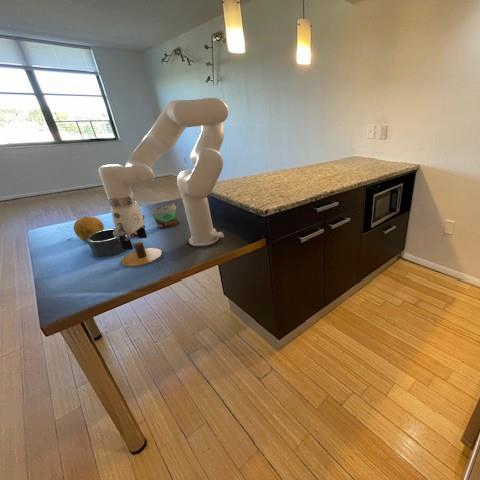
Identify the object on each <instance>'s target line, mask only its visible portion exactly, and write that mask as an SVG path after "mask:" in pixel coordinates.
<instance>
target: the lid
mask: <svg viewBox="0 0 480 480" xmlns="http://www.w3.org/2000/svg"><path fill="white" fill-rule="evenodd" d="M133 249H134V250H135V251H131V252H129V253H128V254H127V255H125V256H123V258H122V259H121V263H122V265H123V266H126V267H132V268H133V267H140V266H145V265H148V264H152V263H153V262H156V261H157V260H159V259H160V258H161V257H162V255H163V251H162V250H161V249H159V248H158V247H157V248H156V247H147V248H145V247H144V243H143V242H135V243H134V244H133Z"/></svg>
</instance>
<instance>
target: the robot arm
mask: <svg viewBox="0 0 480 480" xmlns="http://www.w3.org/2000/svg"><path fill="white" fill-rule="evenodd" d="M228 117H229V108H228V105H227V104H226V103H225V102H224V100H222V99H220V98H218V97H204V98H199V99H176V100H175V99H173V100H171V101H169V102H168V103H167V104H166V105H165V106H164V107H163V110H162V111H161V112H160V115H159V116H158V117H157V119H156V120H155V122H154V123H153V125H152V126H151V128H150V129H149V131H148V132H147V134H146V135H145V136H144V137H143V139H142V140H141V141H140V142H139V144H138V145H137V146H136V148H135V149H134V150H133V152H132V154H131V155H130V156H129V157H128V160H126V163H125V165H121V164H105V165H102V166H100V167H98V169H97V171H98V174H99V175H98V176H99V179H100V180H101V183H102V186H103V189H104V192H105V195H106V198H107V200H108V204H109V206H110V211H111V217H112V221H113V224H114V227H115V228H114V229H115V230H114V232H113V235H114V236H115V237H116V239H118V240H119V241H120V242H121V244H122V247H123V249H124V250H127V251H132V250H133V249H134V246H133V244H132V240H131V238H129V233H130V234H132V233H134V232H135V231H136V232H137V235H138V236H137V238H138V239H147V238H148V235H147V231H146V225H145V224H146V221H145V215H144V214H143V213H142V211H141V208H140V206H139V204H138V203H137V201H136V200H135V196H134V192H133V190H132V186H133V187H135V186H136V187H143V186H148V185H150V184H152V183H153V182H154V181H155V172H154V171H153V169H152V168H153V167H154V165H155V163H156V162H157V161H158V160H159V159H160V158H161V157H162V156H163V155H164V154H166V153H168V152H170V151H171V150H173V149H174V147H175V146H176V144H177V142H178V141H179V140H180V138H181V136H182V134H183V133H184V131H185V129H186V128H195V127H201V131H200V134H199V137H198V138H197V141H196V143H195V145H194V148H193V149H192V151H191V153H190V162H191V164H192V166H193V169H185V170H182V171H181V172H179V174H178V175H177V178H176V184H177V188H178V192H179V194H180V197H181V200H182V203H183V207H184V212H185V216H186V220H187V224H188V228H189V232H190V236H191V237H190V238H189V239H188V243H189V245H191V246H194V247H205V246H206V247H207V246H208V247H209V246H212V245H214V244H215V243H217V242H218V241H219V240H220V239H224V237H225V236H224V233H223V231H217V229H216V228H214V226H213V220H212V214H211V209H210V203H209V200H208V197H209V196H210V195H211V193H212V192H213V190H214V187H215V186H216V184H217V181H218V180H219V177H220V175H221V173H222V171H223V168H224V159H223V156H222V154H221V152H220V149H221V147H222V145H223V143H224V138H225V127H224V122H225V121H226V120H227V119H228ZM124 231H126V232H124ZM123 234H125V237H124V236H123Z"/></svg>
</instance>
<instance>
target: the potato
mask: <svg viewBox="0 0 480 480" xmlns="http://www.w3.org/2000/svg"><path fill="white" fill-rule="evenodd" d="M104 227H105V226H104V223H103V221H102V220H101V219H99V218H98V217H96V216H83V217H80V218H77V219H76V221H74V224H73V231H74V234H75V235H76V237H78V238H79V239H80V240H81V241H82V242H88V241H87V238H88V237H89V236H90V235H92V234H94V233H96V232H99V231H103V230H105V229H104Z"/></svg>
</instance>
